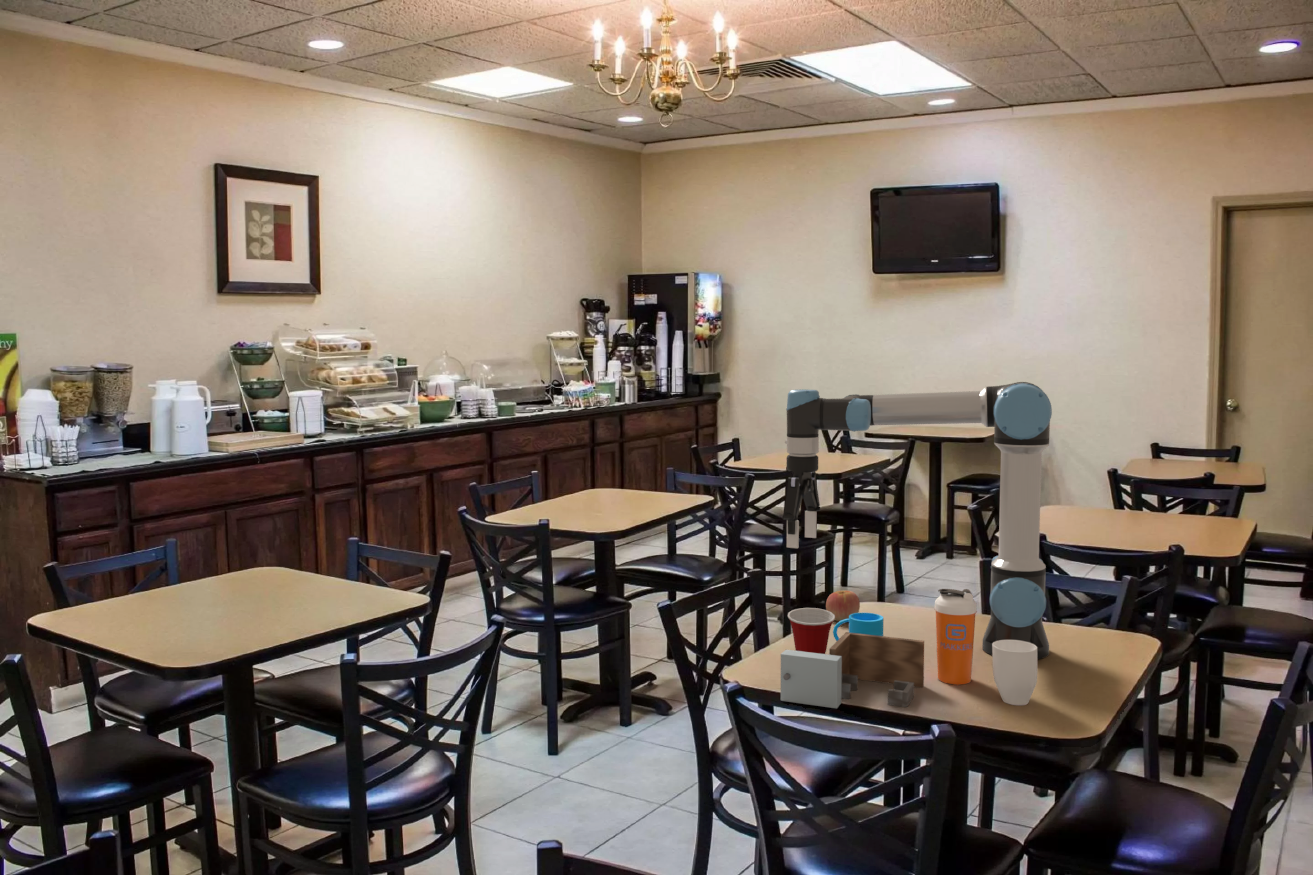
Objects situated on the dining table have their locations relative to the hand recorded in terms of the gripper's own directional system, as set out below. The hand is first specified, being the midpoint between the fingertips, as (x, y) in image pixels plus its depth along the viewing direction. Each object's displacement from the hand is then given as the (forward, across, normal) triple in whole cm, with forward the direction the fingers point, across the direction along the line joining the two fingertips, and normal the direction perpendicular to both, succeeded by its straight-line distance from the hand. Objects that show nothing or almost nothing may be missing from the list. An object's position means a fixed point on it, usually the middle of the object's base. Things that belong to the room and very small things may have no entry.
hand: (801, 542), depth 253 cm
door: (+26, +34, +13) cm, 45 cm away
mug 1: (+27, -6, +12) cm, 30 cm away
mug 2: (+26, +15, +51) cm, 59 cm away
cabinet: (+26, +22, +24) cm, 42 cm away
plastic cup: (+26, +10, +6) cm, 29 cm away
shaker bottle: (+26, +7, +38) cm, 47 cm away
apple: (+27, -30, +2) cm, 40 cm away
